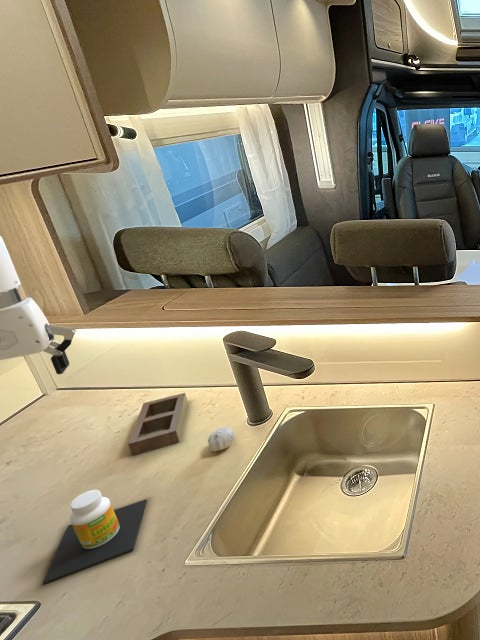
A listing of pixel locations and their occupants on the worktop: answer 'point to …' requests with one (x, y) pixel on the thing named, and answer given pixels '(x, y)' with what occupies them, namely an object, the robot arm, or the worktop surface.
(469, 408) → the worktop surface
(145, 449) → the stand
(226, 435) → the garlic
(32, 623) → the worktop surface
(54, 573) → the mat
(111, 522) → the supplement bottle
